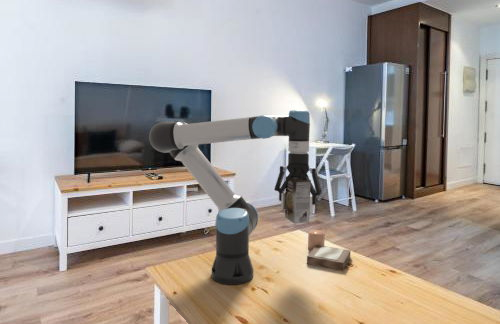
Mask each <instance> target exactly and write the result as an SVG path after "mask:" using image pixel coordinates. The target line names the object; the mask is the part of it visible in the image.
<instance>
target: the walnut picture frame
mask: <svg viewBox="0 0 500 324" xmlns="http://www.w3.org/2000/svg"><path fill="white" fill-rule="evenodd" d="M350 259H351V250H350V249H345V248H338V247H332V246H325V245H324V246H320V245H316V246H315V248H314V249H313V250H310V253H308V255H307V256H306V264H307V265H312V266H318V267H322V268H328V269H333V270H337V271H344V270H345V268H346V266H347V264H348V263H349V261H350Z"/></svg>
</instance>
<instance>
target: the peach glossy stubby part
mask: <svg viewBox="0 0 500 324" xmlns="http://www.w3.org/2000/svg"><path fill="white" fill-rule="evenodd" d="M307 234H308V235H307V249H308V250H310V251H312V250H313V249H314V248H315V246H316V245H320V246H325V241H326V240H325V238H326V237H325V235H326V234H325V231H321V230H317V229H315V230H313V229H312V230H309V231H308V232H307Z"/></svg>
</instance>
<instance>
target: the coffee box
mask: <svg viewBox="0 0 500 324" xmlns="http://www.w3.org/2000/svg"><path fill="white" fill-rule="evenodd" d="M287 176H288V175H287ZM287 176H285V180H286V179H287ZM309 179H310V178H309ZM309 179H308V180H304V179H302V178H298V177H296V178H294V177H291V178H289V181H288V184H287V186H286V188H285V192H286V196H285V209H284V210H285V211H284V217H285V219H287V220H289V221H290V222H292V223H293V224H295V225H296V224H307V223H308V224H309V223H310V215H311V214H309V211H310V196H311V192H310V186H311V183H312V180H311V179H310V180H309Z"/></svg>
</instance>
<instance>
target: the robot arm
mask: <svg viewBox="0 0 500 324" xmlns="http://www.w3.org/2000/svg"><path fill="white" fill-rule="evenodd" d="M310 116H311V115H310V111H309V110H304V109H301V110H300V109H299V110H298V109H297V110H295V109H293V110H289V111H288V114H287V115H269V114H263V115H257V116H251V117H249V116H248V117H239V118H233V119H232V118H231V119H223V120H222V119H221V120H212V121H204V122H196V123H186V122H184V121H180V120H173V121H160V122H158V123H156V124H154V125H153V126H152V127H151V129H150V131H149V136H148V138H149V139H148V140H149V143H150V145H151V146H152V148H153V149H154V150H155V151H157V152H160V153H164V154H166V153H169V154H170V156H171V157H172V158H173V159H174V160H175V161H178V162H180V163H182V164H183V166H184V167H185V168H186V170H187V171H188V172H189V174H191V176H192V177H193V179H194V180H195V181H196V183H198V184H199V186H200V187H201V189H202V190H203V191H204V192H205V193H206V194H207V196H208V197H209V199H210V200H211V201H212V202H213V204H214V205H215V206H216V207H217V209H218V210H217V211H218V212H217V214H216V216H215V249H216V250H215V258H214V261H213V264H212V267H211V273H210V274H211V279H212V280H213V281H215V282H216V283H218V284H223V285H232V286H233V285H241V284H244V283H248V282H250V281H251V280H252V279H253V277H254V266H253V263H252V261H251V258H250V255H249V254H250V253H249V250H250V246H249V245H250V235H251V234H252V233H253V231H254V230H255V229H256V227H257V225H258V222H259V214H258V210H257V209H256V207H255V206H254V205H253V204H251V203H249V202H246V200H245V198H243V196H242V195H238V194H235V192H234V191H233V190H232V188H231V187H230V186H229V185H228V183H227V182H226V181H225V180H224V179H223V177H222V176H221V175H220V173H219V172H218V170H216V168H215V167H214V166H213V164H212V163H211V162H210V161H209V159H208V158H207V157H206V156H205V155H204V153H203V151H201V150H200V148H199V145H207V144H217V143H225V142H226V143H227V142H235V141H237V142H238V141H246V140H256V139H259V140H260V139H264V140H265V139H269V138H272V137H288V154H287V155H288V156H287V158H288V159H287V165H281V166H279V173H278V177H277V179H276V183H275V186H274V191H275V192H276V191H277V192H278V200H279V202H280V203H281V204H280V206H281V207H280V209H281V211H284V210H285V196H286V186H287V184H288V181H289V178H291V177H294V178H296V177H298V178H302V179H304V180H308V179H309V180H311V179H310V176H309V175H308V173H309V172H310V174H311V177H312V181H313V183H312V182H311V186H310V211H309V214H310V215H312V214H314V210H315V209H314V206H316V204H317V196H321V194H322V193H323V192H322V188H321V185H320V181H319V177H318V168H317V167H310V165H309V158H310V155H309V152H310V131H311V130H310V128H311V117H310ZM287 171H288V175H287V179H286V178H285V180H284V176H285V173H286V172H287ZM283 180H284V182H283ZM282 182H283V183H282ZM313 184H314V185H313Z"/></svg>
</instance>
